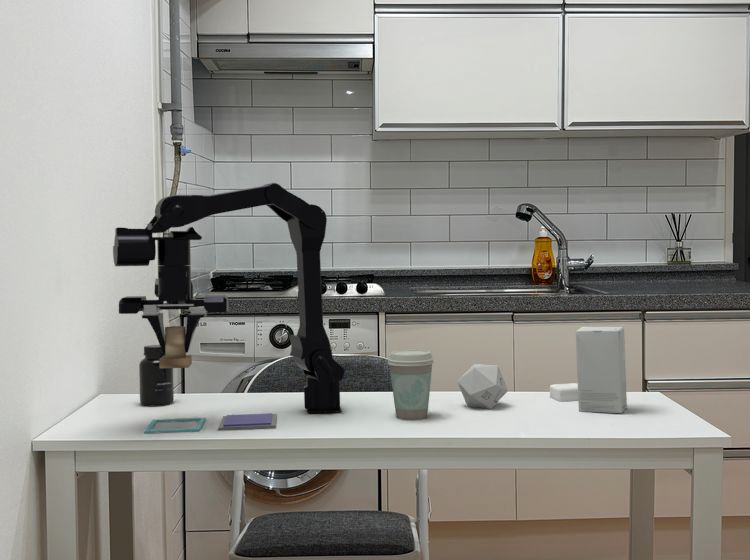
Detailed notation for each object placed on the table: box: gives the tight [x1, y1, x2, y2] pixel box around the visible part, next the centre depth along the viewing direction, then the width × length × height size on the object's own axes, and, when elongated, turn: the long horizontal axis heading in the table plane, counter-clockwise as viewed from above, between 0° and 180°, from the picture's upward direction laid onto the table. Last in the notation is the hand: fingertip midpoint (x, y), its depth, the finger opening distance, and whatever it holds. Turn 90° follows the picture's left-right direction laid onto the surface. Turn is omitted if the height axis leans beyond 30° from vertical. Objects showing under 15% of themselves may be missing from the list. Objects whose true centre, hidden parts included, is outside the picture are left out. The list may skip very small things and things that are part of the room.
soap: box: [549, 382, 578, 403], centre depth 170 cm, size 9×6×3 cm, turn 99°
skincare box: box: [575, 326, 628, 414], centre depth 157 cm, size 8×7×16 cm
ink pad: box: [217, 412, 278, 431], centre depth 153 cm, size 10×10×1 cm
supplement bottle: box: [138, 344, 175, 406], centre depth 173 cm, size 7×7×12 cm
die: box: [456, 363, 509, 410], centre depth 164 cm, size 8×9×10 cm
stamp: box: [159, 325, 192, 369], centre depth 150 cm, size 5×5×7 cm
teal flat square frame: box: [143, 417, 207, 434], centre depth 151 cm, size 10×10×1 cm
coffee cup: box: [387, 349, 435, 421], centre depth 155 cm, size 9×8×12 cm
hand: (175, 352), depth 151 cm, fingers closed on stamp, 4 cm apart
